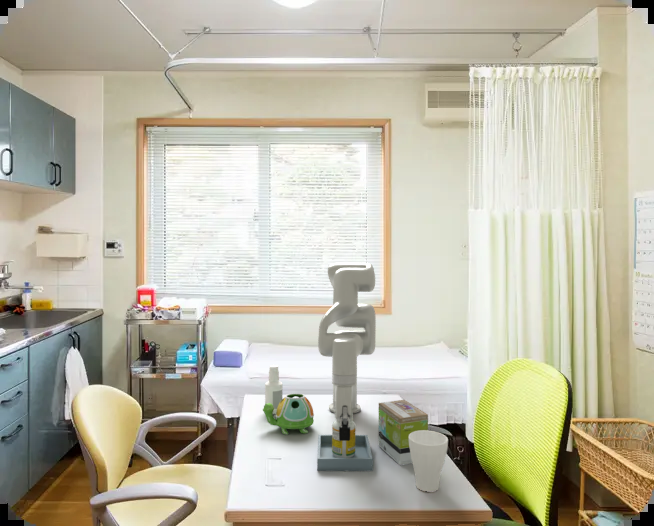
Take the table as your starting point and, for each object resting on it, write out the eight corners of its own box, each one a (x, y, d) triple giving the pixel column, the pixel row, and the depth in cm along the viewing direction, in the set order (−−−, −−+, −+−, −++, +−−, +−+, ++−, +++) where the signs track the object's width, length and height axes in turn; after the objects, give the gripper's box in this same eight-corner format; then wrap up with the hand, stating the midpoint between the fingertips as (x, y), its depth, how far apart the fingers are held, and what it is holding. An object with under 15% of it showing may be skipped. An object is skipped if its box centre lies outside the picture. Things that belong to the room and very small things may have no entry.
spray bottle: (281, 414, 186) (281, 368, 186) (263, 414, 187) (263, 368, 186) (283, 408, 193) (283, 364, 193) (266, 408, 193) (266, 363, 193)
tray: (318, 445, 158) (318, 434, 158) (367, 445, 158) (367, 434, 158) (317, 470, 140) (317, 458, 140) (372, 471, 140) (372, 459, 140)
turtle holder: (263, 423, 177) (263, 391, 177) (312, 422, 179) (312, 390, 179) (262, 436, 165) (262, 401, 165) (315, 435, 167) (315, 400, 166)
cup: (454, 493, 128) (455, 443, 127) (418, 499, 125) (419, 447, 124) (435, 475, 138) (435, 428, 137) (401, 480, 135) (401, 432, 134)
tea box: (377, 446, 157) (377, 401, 157) (404, 442, 161) (405, 398, 160) (399, 466, 143) (400, 417, 143) (428, 461, 147) (429, 413, 146)
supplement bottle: (332, 459, 146) (332, 417, 145) (332, 449, 153) (332, 409, 152) (355, 459, 146) (356, 417, 145) (354, 449, 153) (355, 409, 152)
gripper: (331, 371, 157) (331, 423, 157) (332, 386, 140) (332, 445, 140) (355, 371, 157) (354, 423, 157) (358, 387, 140) (358, 445, 140)
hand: (343, 433), depth 149 cm, fingers open, 9 cm apart
